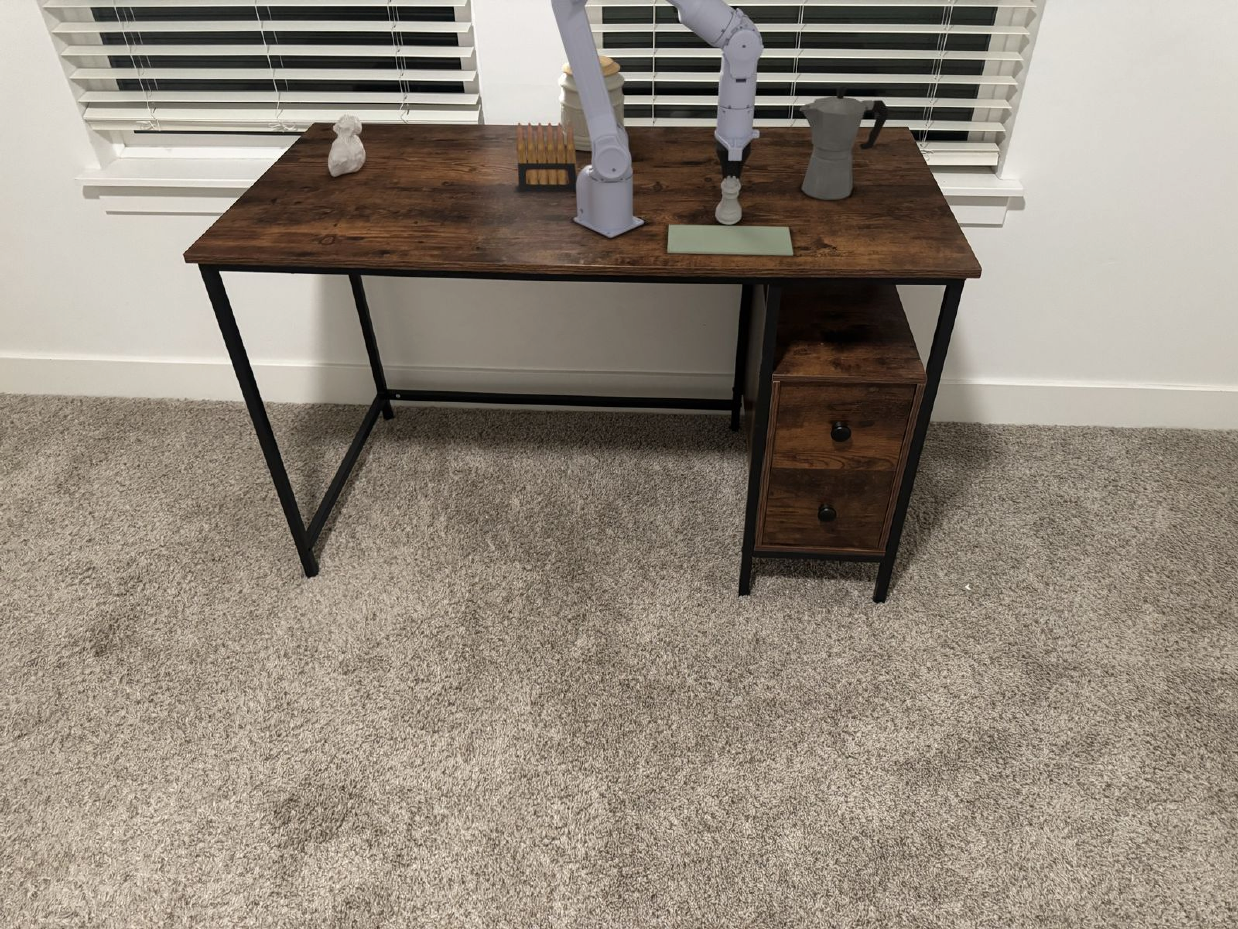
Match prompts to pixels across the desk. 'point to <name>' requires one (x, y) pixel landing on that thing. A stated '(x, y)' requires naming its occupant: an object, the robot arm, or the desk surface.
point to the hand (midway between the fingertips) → (730, 187)
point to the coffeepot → (837, 142)
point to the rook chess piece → (729, 202)
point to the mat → (729, 240)
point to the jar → (573, 107)
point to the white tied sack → (346, 147)
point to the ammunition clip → (546, 160)
